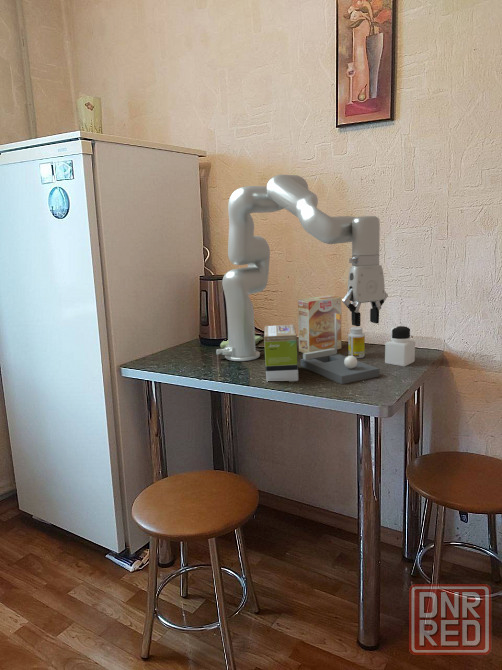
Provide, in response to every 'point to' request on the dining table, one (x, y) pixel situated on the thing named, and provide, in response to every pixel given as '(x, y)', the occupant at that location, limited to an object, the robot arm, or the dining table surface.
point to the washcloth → (224, 343)
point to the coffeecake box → (318, 323)
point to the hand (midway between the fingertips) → (365, 323)
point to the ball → (350, 362)
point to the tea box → (281, 353)
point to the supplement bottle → (356, 343)
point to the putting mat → (337, 364)
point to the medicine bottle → (400, 347)
